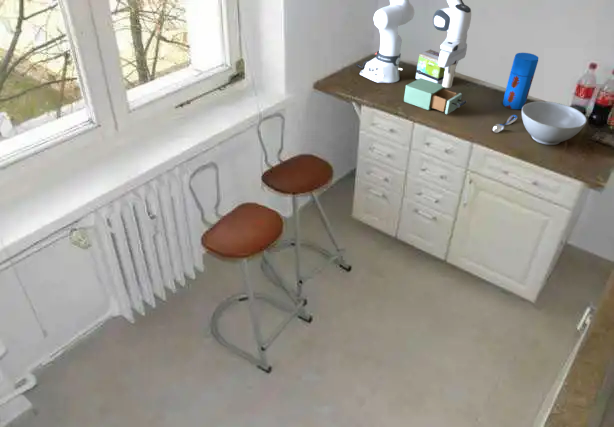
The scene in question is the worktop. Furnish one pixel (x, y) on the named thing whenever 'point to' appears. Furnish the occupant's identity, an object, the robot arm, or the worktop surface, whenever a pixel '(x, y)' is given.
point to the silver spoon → (500, 126)
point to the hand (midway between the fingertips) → (449, 71)
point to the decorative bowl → (552, 121)
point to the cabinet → (421, 92)
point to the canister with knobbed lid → (449, 76)
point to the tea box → (430, 67)
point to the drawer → (446, 101)
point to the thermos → (520, 80)
